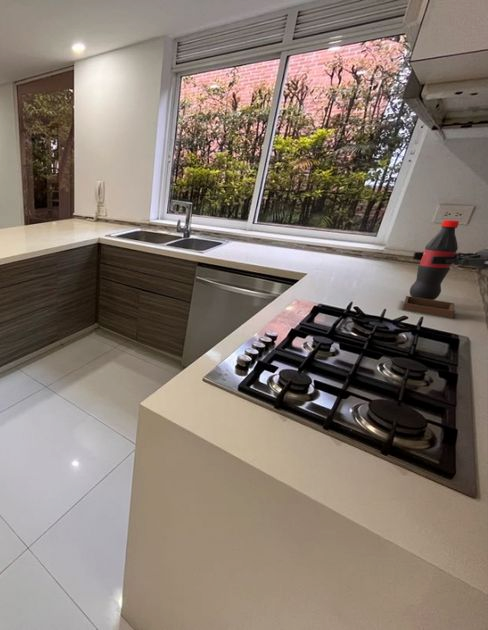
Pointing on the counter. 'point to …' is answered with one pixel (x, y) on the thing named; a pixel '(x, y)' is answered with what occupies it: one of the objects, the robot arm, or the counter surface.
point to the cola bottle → (435, 273)
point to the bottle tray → (429, 307)
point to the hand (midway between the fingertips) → (423, 257)
